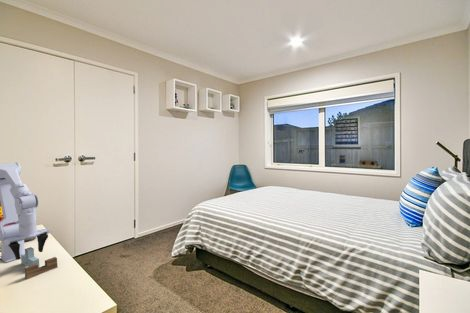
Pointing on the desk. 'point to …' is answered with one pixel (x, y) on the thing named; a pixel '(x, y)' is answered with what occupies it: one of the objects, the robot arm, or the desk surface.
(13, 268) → the desk surface
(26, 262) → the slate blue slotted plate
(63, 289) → the desk surface
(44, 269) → the brown notched wooden bar
